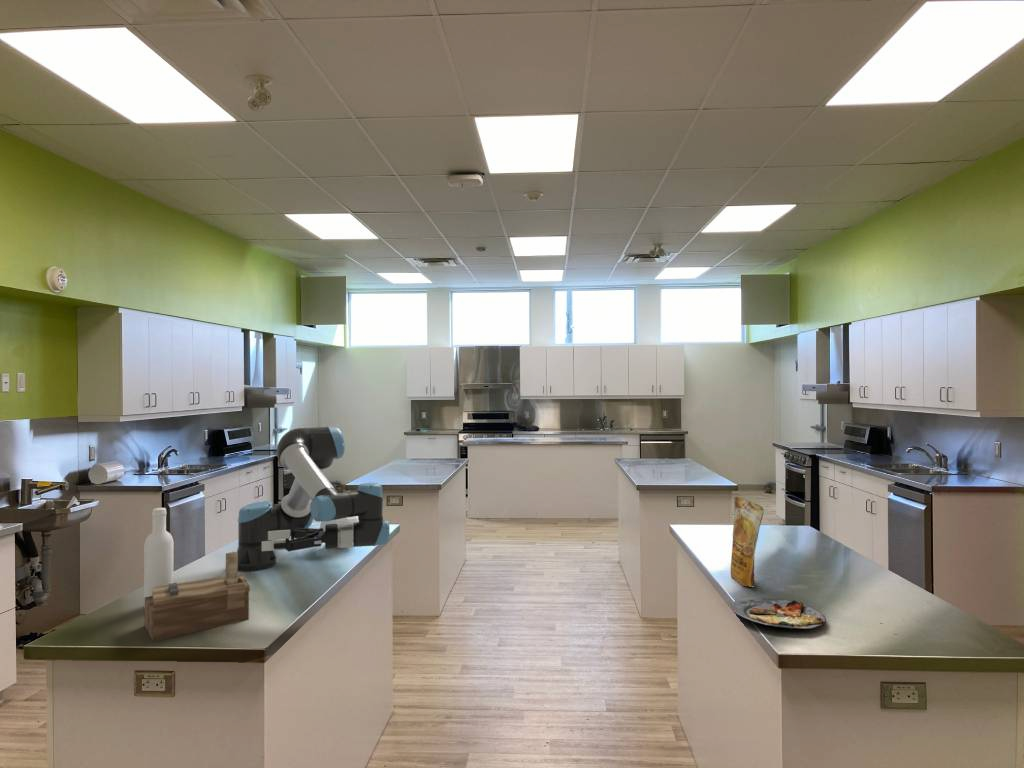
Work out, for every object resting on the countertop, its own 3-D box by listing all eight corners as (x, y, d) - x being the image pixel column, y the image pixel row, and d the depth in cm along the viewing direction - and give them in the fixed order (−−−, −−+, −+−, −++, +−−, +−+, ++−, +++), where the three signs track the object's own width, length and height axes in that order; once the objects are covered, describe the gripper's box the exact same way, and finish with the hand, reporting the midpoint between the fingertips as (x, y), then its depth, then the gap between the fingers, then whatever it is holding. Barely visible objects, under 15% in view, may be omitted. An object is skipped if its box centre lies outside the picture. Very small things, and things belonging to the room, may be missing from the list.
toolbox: (144, 625, 167) (144, 597, 167) (234, 605, 182) (235, 579, 183) (153, 641, 156) (153, 611, 156) (248, 619, 172) (248, 591, 172)
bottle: (174, 607, 181) (175, 509, 182) (144, 612, 177) (145, 512, 177) (171, 599, 188) (172, 505, 188) (142, 605, 183) (143, 508, 184)
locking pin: (224, 600, 176) (224, 553, 176) (235, 598, 178) (235, 551, 178) (227, 603, 173) (227, 555, 173) (239, 600, 175) (239, 553, 176)
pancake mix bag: (743, 572, 215) (742, 495, 216) (766, 590, 196) (765, 505, 197) (724, 572, 215) (724, 495, 216) (745, 590, 196) (745, 505, 197)
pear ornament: (358, 501, 246) (370, 517, 271) (303, 503, 245) (321, 519, 270) (355, 541, 239) (368, 554, 264) (299, 543, 238) (317, 556, 263)
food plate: (813, 608, 181) (813, 596, 181) (837, 639, 158) (837, 626, 158) (727, 601, 186) (727, 590, 186) (738, 630, 164) (738, 618, 164)
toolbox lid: (152, 592, 171) (152, 583, 171) (242, 578, 184) (242, 569, 184) (153, 607, 159) (153, 597, 159) (249, 591, 172) (249, 581, 172)
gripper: (337, 558, 171) (258, 564, 165) (339, 538, 195) (270, 543, 190) (337, 532, 171) (258, 537, 166) (339, 515, 195) (270, 520, 190)
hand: (264, 540), depth 178 cm, fingers open, 13 cm apart
